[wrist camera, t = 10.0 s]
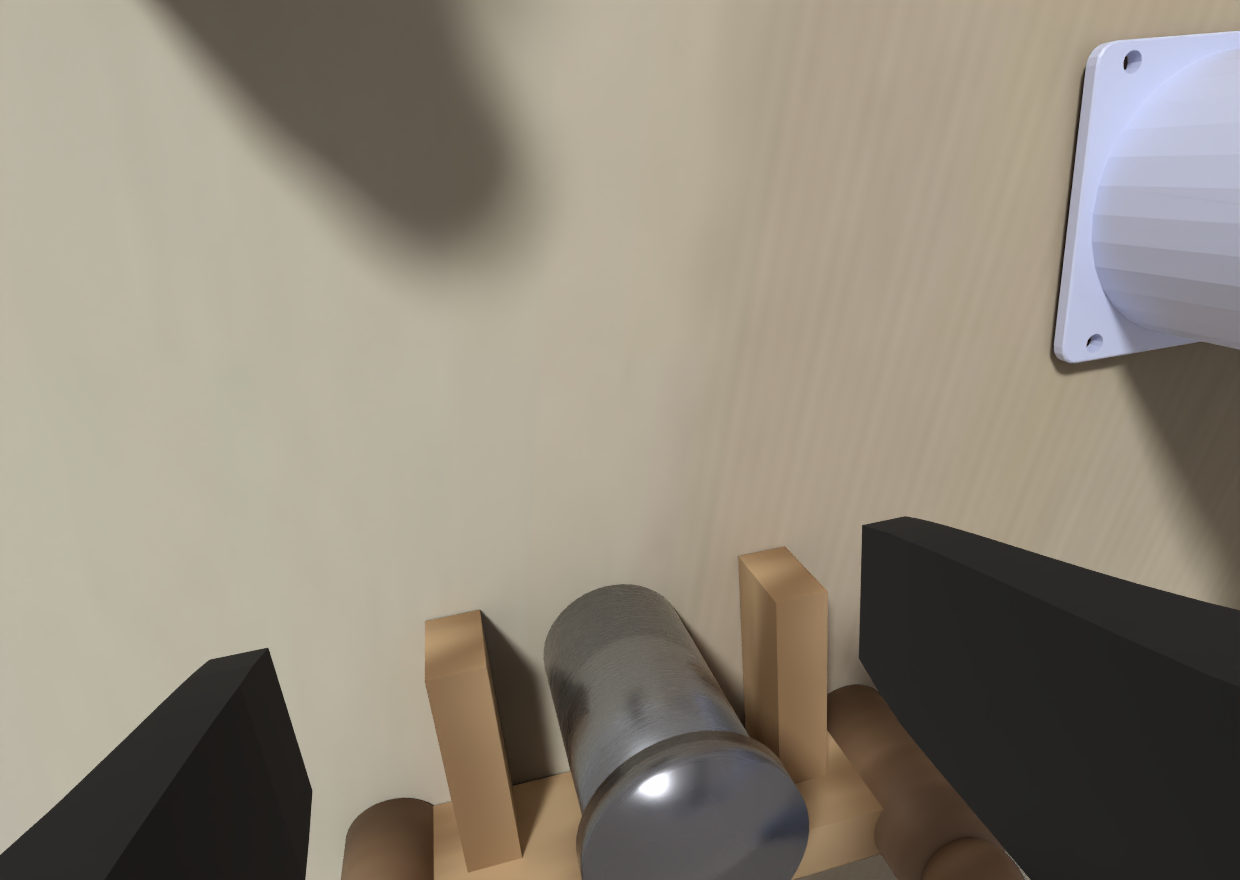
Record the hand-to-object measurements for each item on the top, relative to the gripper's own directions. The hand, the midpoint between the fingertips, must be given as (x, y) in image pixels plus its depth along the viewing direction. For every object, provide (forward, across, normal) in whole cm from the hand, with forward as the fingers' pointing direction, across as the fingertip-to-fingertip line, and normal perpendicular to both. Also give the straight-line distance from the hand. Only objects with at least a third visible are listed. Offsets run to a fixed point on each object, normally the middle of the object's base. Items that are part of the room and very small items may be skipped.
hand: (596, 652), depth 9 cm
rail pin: (+10, -2, +7) cm, 12 cm away
